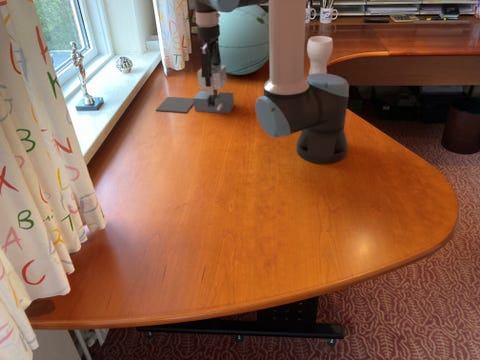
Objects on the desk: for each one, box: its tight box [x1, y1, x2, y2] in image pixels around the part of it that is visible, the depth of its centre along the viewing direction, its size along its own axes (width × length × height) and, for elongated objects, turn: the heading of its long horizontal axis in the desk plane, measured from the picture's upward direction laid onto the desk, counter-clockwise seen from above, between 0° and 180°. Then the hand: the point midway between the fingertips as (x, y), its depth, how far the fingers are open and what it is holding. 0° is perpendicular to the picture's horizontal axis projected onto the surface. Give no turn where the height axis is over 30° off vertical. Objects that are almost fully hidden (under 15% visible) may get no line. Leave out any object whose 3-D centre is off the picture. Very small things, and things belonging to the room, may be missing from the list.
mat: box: [155, 96, 194, 114], centre depth 153 cm, size 12×12×1 cm
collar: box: [196, 65, 228, 91], centre depth 143 cm, size 8×8×6 cm
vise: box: [192, 90, 235, 114], centre depth 145 cm, size 12×13×12 cm
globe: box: [218, 4, 269, 76], centre depth 171 cm, size 30×30×30 cm
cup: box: [306, 35, 334, 76], centre depth 170 cm, size 11×11×15 cm
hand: (213, 89), depth 145 cm, fingers closed on collar, 8 cm apart
